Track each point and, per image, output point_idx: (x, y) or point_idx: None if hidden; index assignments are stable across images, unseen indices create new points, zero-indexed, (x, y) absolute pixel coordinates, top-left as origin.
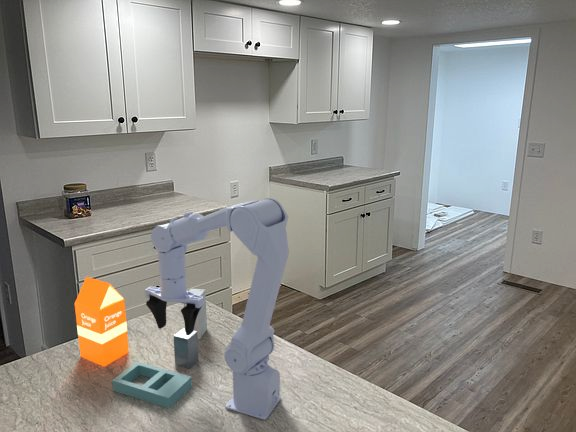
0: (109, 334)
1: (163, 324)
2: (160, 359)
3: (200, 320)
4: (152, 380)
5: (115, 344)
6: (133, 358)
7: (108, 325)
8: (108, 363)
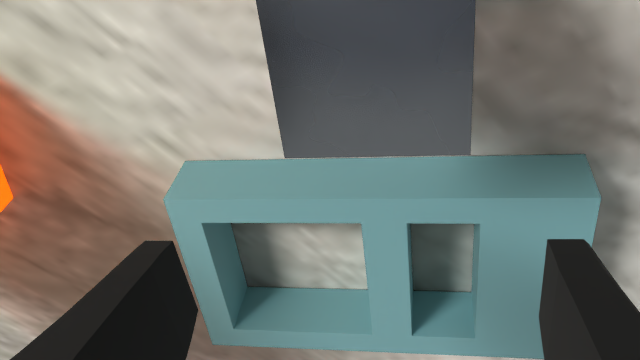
0: None
1: (176, 294)
2: (185, 8)
3: None
4: (389, 293)
5: None
6: (43, 79)
7: None
8: (2, 178)
